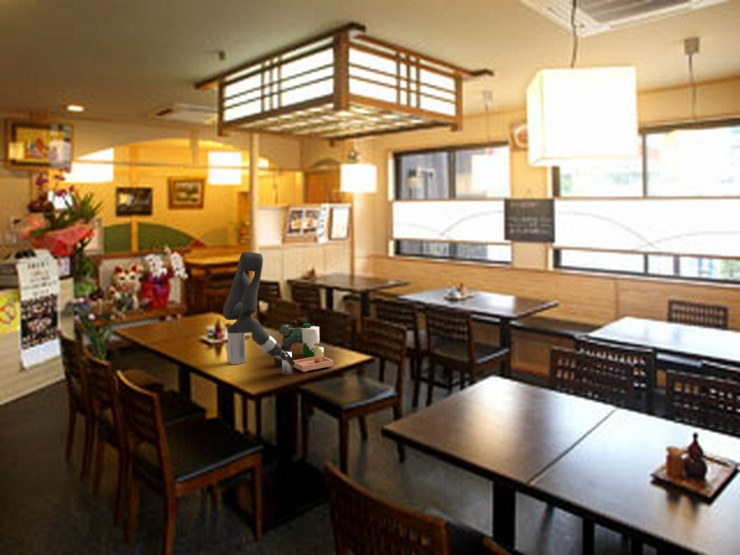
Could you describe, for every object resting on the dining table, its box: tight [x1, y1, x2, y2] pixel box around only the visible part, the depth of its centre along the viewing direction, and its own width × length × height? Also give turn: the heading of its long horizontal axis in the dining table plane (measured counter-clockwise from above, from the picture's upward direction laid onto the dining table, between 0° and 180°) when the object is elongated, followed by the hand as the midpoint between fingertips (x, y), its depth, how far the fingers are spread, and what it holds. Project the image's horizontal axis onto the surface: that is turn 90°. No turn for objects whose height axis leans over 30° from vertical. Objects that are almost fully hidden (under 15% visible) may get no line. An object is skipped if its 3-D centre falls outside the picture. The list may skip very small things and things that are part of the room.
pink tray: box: [292, 356, 335, 374], centre depth 284 cm, size 18×13×4 cm
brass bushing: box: [314, 345, 325, 363], centre depth 286 cm, size 5×5×8 cm
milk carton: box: [301, 322, 321, 359], centre depth 301 cm, size 9×9×20 cm
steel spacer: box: [281, 350, 293, 376], centre depth 275 cm, size 5×5×11 cm
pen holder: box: [273, 344, 292, 368], centre depth 291 cm, size 9×9×10 cm
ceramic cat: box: [279, 320, 303, 347], centre depth 313 cm, size 20×6×20 cm, turn 76°
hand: (289, 363), depth 276 cm, fingers open, 6 cm apart
